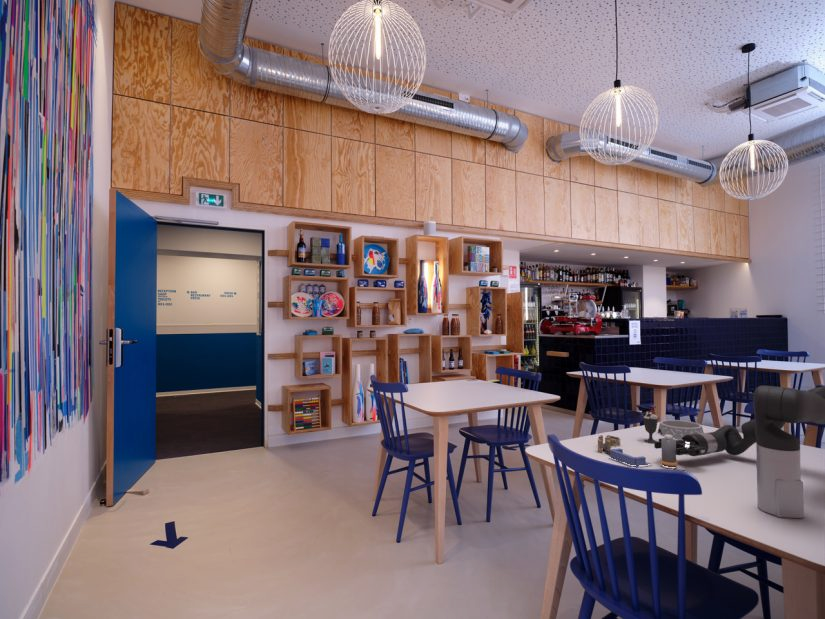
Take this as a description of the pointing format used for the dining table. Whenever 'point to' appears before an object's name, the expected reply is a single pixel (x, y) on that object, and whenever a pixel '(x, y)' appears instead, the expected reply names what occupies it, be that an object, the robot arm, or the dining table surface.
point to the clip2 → (606, 439)
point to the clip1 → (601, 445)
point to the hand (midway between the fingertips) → (665, 448)
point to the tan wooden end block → (614, 440)
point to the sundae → (650, 424)
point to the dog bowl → (679, 428)
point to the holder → (627, 458)
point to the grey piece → (668, 451)
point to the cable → (606, 449)
